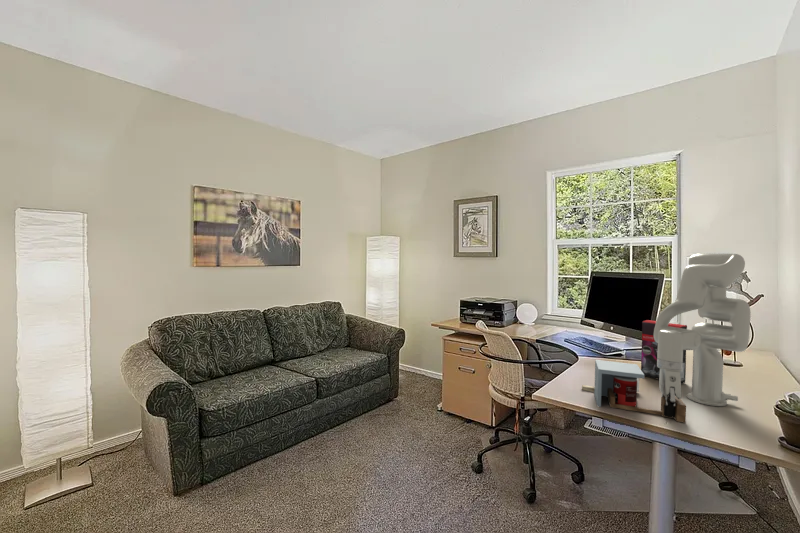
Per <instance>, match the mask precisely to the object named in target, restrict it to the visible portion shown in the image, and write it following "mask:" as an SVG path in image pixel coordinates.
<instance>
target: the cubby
mask: <svg viewBox="0 0 800 533" xmlns="http://www.w3.org/2000/svg"><path fill="white" fill-rule="evenodd" d="M594 363H595V366H594V386H593V387H594V392H593V393H594V398H595V402H596V407H599V408H601V407H602V397H607V390H608V388H612V390H613V379H614V375H618V376H626V377H634V378H639V379H645V376H644V373H643V372H642V371H641V367H639V365H638V364H637V363H628V362H627V363H626V362H620V361H619V362H618V361H610V360H609V361H608V360H602V359H595V361H594Z"/></svg>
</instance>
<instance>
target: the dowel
mask: <svg viewBox="0 0 800 533" xmlns="http://www.w3.org/2000/svg"><path fill="white" fill-rule="evenodd" d="M581 385H582V386H581V390H582V391H586V392H592V393H594V387H595V386H591V385H587V384H586V385H584V384H581Z"/></svg>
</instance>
